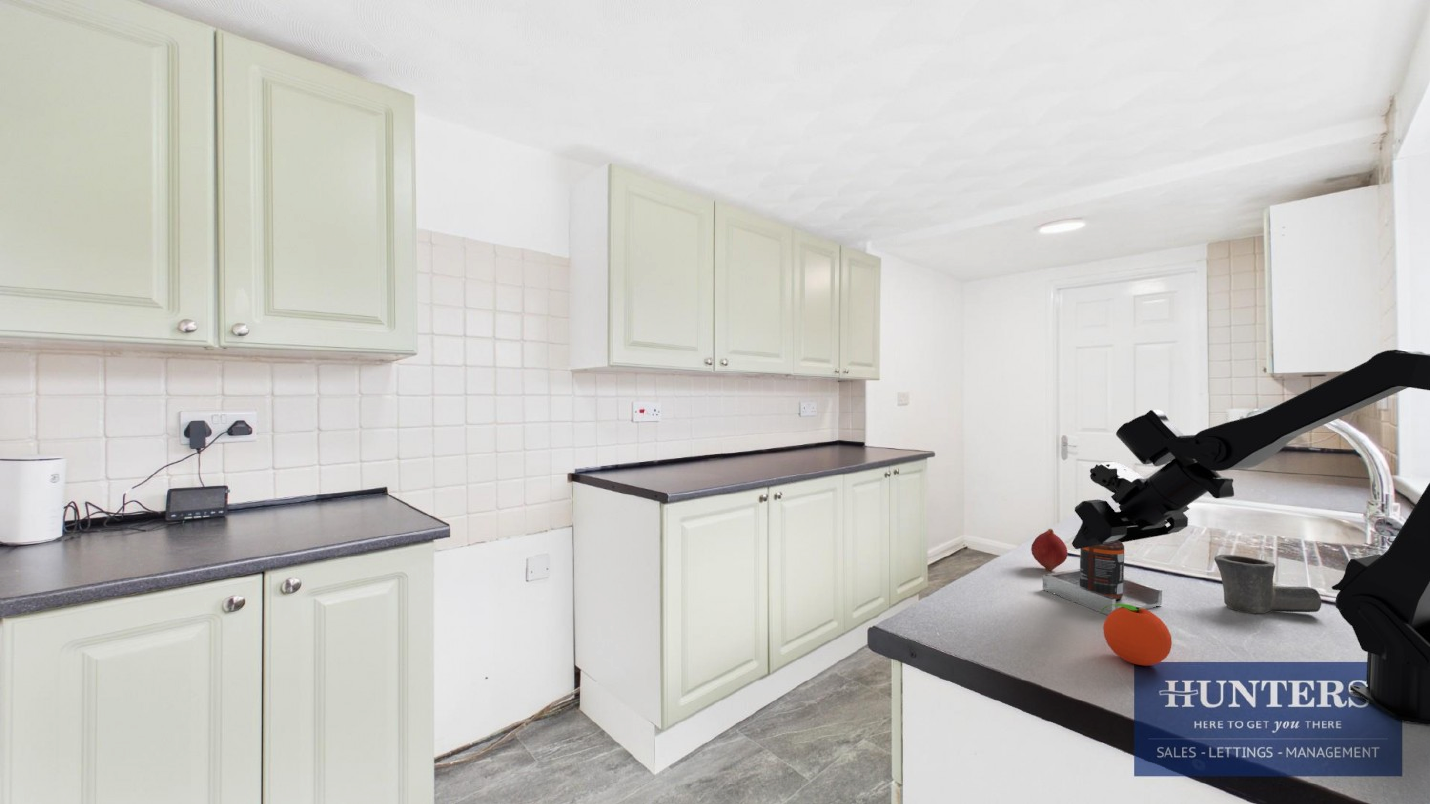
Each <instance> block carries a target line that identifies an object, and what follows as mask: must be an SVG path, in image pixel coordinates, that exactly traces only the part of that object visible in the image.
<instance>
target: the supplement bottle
mask: <svg viewBox="0 0 1430 804" xmlns="http://www.w3.org/2000/svg"><path fill="white" fill-rule="evenodd" d="M1079 551H1080V554H1079V556H1080V557H1079V559H1080V560H1079V569H1080V586H1081V587H1084V588H1086V589H1089V590H1092V591H1095V592H1098V593H1100V594H1103V595H1106V596H1109V597H1112V598H1114V599H1116V600H1117V599H1120V598H1122V597H1123V588H1124V586H1123V583H1124V578H1125V576H1124V575H1125V574H1124V573H1125V545H1124V542H1121V541H1119V540H1116V542H1112V543H1107V544H1102V545H1096V546H1091V547H1086V548H1081V549H1079Z"/></svg>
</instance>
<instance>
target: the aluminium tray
mask: <svg viewBox="0 0 1430 804" xmlns="http://www.w3.org/2000/svg"><path fill="white" fill-rule="evenodd" d="M1123 586H1124V588H1123V597H1122V598H1120V599H1117V600H1116V599H1114V598H1112V597H1109V596H1106V595H1103V594H1100V593H1098V592H1095V591H1092V590H1089V589H1086V588H1084V587H1081V586H1080V568H1078V569H1077V568H1076V569H1071V570H1065V571H1060V572H1059V571H1058V572H1051V573H1046V574H1043V575H1042V591H1044V590H1045V592H1047V591H1048V592H1047V593H1049V594H1052V593H1055V594H1057V595H1060V596H1062V597H1064V598H1063V599H1065V598H1066V600H1067V601H1070V600H1071V601H1070V602H1073V603H1075V602H1076V604H1079V605H1080V606H1083V607H1086V608H1088V609H1092V610H1094V611H1096V612H1098V613H1101V614H1104V615H1107V616H1108V615H1109V614H1110V613H1111V612H1112V611H1113V610H1115V609H1118V608H1121V606H1116V605H1113V604H1127V605H1132V606H1135V607H1139V608H1143V609H1146V610H1149V609H1154V608H1153V607H1155V608H1157V607H1156V606H1160V605H1162V603H1163V590H1162V589H1160V588H1157V587H1154V586H1151V585H1147V584H1145V583H1142V582H1139V581H1135V580H1132V579H1128V578H1126V577H1124V583H1123ZM1055 594H1054V595H1055ZM1057 595H1056V596H1057ZM1060 596H1059V597H1060ZM1062 597H1061V598H1062ZM1108 605H1111V606H1108ZM1106 606H1108V607H1106ZM1162 606H1163V605H1162ZM1104 607H1106V608H1104ZM1160 607H1161V606H1160ZM1103 608H1104V610H1103V611H1102V609H1103ZM1101 611H1102V612H1101Z"/></svg>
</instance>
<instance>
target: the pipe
mask: <svg viewBox="0 0 1430 804" xmlns="http://www.w3.org/2000/svg"><path fill="white" fill-rule="evenodd" d="M1213 559H1214V560H1213V561H1214V562H1215V564H1216V565H1217V567H1218V570H1219V573H1220V577H1221V582H1222V588H1223V601H1224V602H1223V603H1224V604H1225V605H1226V607H1228V608H1230V609H1232V610H1235V611H1238V612H1243V613H1248V614H1249V613H1251V614H1265V613H1267V612H1280V613H1281V612H1282V613H1283V612H1286V613H1318V612H1319V611H1320V609H1321V608H1322V600H1323V599H1322V598H1321V595H1320V593H1319V592H1318V591H1317V589H1316V588H1313V587H1310V586H1276V585H1275V586H1274V573H1275V571H1276V570H1275V569H1276V564H1275V563H1274V562H1271V561H1268V560H1263V559H1258V558H1254V557H1249V556H1243V555H1234V554H1218V555H1215V556H1214V558H1213Z"/></svg>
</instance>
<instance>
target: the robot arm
mask: <svg viewBox="0 0 1430 804" xmlns="http://www.w3.org/2000/svg"><path fill="white" fill-rule="evenodd" d="M1408 388H1412V389H1418V390H1423V391H1430V353H1424V352H1423V351H1417V350H1410V349H1409V350H1407V349H1389V350H1384V351H1380V352H1379V353H1376V354H1375V355H1373V356H1372V357H1370V358H1369V359H1368V360H1367V361H1365V362H1363V363H1361V364H1359V365H1357V366H1355V367H1353V368H1351V369H1349V370H1347V371H1344V372H1342V373H1341V374H1339V375H1337V376H1334V377H1333V378H1330V379H1329V380H1327V381H1324V382H1322V383H1321V384H1317V385H1316V386H1314V387H1312V388H1310V389H1307V390H1306V391H1304V392H1302V393H1300V394H1298V395H1296V396H1293V397H1292V398H1290V399H1288V400H1285V401H1284V402H1282V403H1280V404H1277V405H1276V406H1274V407H1271V408H1269V409H1268V410H1266V411H1263V412H1260V413H1257V414H1254V415H1251V416H1247V417H1244V418H1239V419H1235V420H1231V421H1228V422H1224V423H1221V424H1217V425H1215V426H1212V427H1208V428H1206V429H1203V430H1200V431H1199V432H1197V433H1196V434H1186V435H1185V434H1183V433H1182V431H1181V430H1179V429H1178V427H1176V426H1175V425H1174V424H1173V423H1172V422H1171V421H1170V420H1169V419H1168V417H1167V415H1166V414H1165V413H1164V412H1163V411H1162V410H1161V409H1150V410H1149V411H1147V412H1146V413H1145V414H1143V415H1140V416H1138V417H1135V418H1133V419H1132V420H1130V421H1128V422H1125V423H1123V424H1122V425H1121V426H1120V427H1119V428H1118V429H1117V431H1116V433H1115V435H1116V437H1117V438H1118V439H1119V440H1120V441H1121V442H1122V443H1123V444H1124V446H1125V447H1126V448H1127V449H1128V450H1129V451H1130V452H1131V453H1132V454H1133V456H1135V458H1136V459H1138V460H1139V462H1140V463H1141V464H1142V465H1145V466H1146V465H1150V464H1151V465H1153V466H1155V467H1160V466H1163V465H1164V466H1163V467H1161V468H1160V469H1159V470H1157V471H1155V472H1154V473H1153V474H1152V475H1150V476H1149V477H1147V478H1145V477H1143V476H1142V475H1141V474H1139V473H1137V472H1136V471H1134V470H1133V469H1131V468H1129V467H1127V465H1126V466H1125V465H1124V464H1122V463H1120V462H1117V461H1106V462H1103V461H1102V462H1099V463H1098V464H1096V465H1095V466H1094V467H1092V468H1090V469H1089V473H1090V474H1089V478H1090V479H1091V481H1092V482H1093V483H1095V484H1096V485H1099V486H1101V487H1102V488H1104V489H1106V490H1108V491H1109V492H1111V493H1113V494H1112V495H1110V498H1111V499H1112V500H1113V502H1114V503H1115V504H1118V508H1119V511H1116V510H1114V509H1113V506H1111V505H1110V504H1109V502H1108V501H1107V500H1103V499H1102V500H1101V499H1090V500H1082V501H1081V502H1080V503H1079V504H1077V505H1076V506H1075V507H1074V512H1075V513H1076V514H1077V516H1078V517H1079V518H1080V520H1081V522H1082V523H1081V525H1080V527H1079V529H1078V532H1077V533H1076V535H1075V536H1074V539H1073V540H1072V542H1071V546H1072V547H1073V548H1074V549H1076V550H1080V549H1081V548H1086V547H1091V546H1096V545H1102V544H1107V543H1112V542H1116V540H1119V541H1121V542H1122V543H1127V542H1131V541H1132V542H1134V541H1138V540H1145V539H1150V538H1154V537H1155V538H1156V537H1161V536H1166V535H1167V536H1169V535H1170V534H1171V535H1172V534H1174V533H1179V532H1180V531H1182V530H1184V529H1186V528H1187V527H1189V525H1188V523H1189V522H1188V521H1189V517H1187V515H1186V514H1185V513H1186V512H1188V510H1190V507H1188V506H1189V505H1191V504H1192V503H1193V502H1195V501H1197V500H1198V499H1199V498H1201V497H1202V496H1204V495H1206V494H1207V493H1209V494H1210V495H1211V496H1212V498H1214V499H1226V498H1232V497H1234V496H1235V491H1234V485H1233V483H1234V478H1232V477H1225V476H1222V475H1220V474H1219V473H1218V472H1222V471H1223V472H1225V471H1234V470H1235V471H1236V470H1246V469H1251V468H1255V467H1257V466H1259V465H1260V464H1262V463H1263V462H1264V461H1266V460H1268V459H1269V458H1271V457H1272V456H1275V455H1276V454H1277V453H1278V452H1280V451H1281V450H1282V449H1283V448H1284V447H1285V446H1286V445H1287V444H1288V443H1290V442H1291V441H1292V440H1294V439H1295V438H1297V437H1299V436H1301V435H1303V434H1306V433H1308V432H1311V431H1313V430H1315V429H1317V428H1320V427H1322V426H1324V425H1326V424H1329V423H1331V422H1333V421H1335V420H1337V419H1340V418H1343V417H1345V416H1348V415H1349V414H1352V413H1353V412H1354V413H1355V412H1356V411H1358V410H1361V409H1363V408H1365V407H1368V406H1369V405H1372V404H1375V403H1376V402H1379V401H1381V400H1384V399H1386V398H1388V397H1390V396H1392V395H1395V394H1397V393H1399V392H1402V391H1404V390H1407V389H1408ZM1168 524H1169V525H1168ZM1167 525H1168V526H1167ZM1331 589H1332V590H1334V591H1338V593H1337V594H1336V597H1335V600H1334V601H1335V602H1334V603H1335V608H1336V609H1337V610H1338V611H1339V613H1340V615H1341V617H1342V619H1344V620H1345V622H1347V623H1348V625H1350V626H1351V627H1352V629H1353V632H1354V635H1355V637H1356V639H1357V641H1358V643H1359V646H1360V648H1361V650H1362V651H1363V652H1366V657H1367V658H1366V660H1367V661H1366V677H1365V678H1366V683H1365V684H1366V685H1367V686H1362V685H1354V684H1350V685H1349V690H1350V691H1351V692H1354V694H1356V695H1357V696H1359V697H1360V698H1362V699H1364V700H1366V701H1367V702H1368V703H1370V704H1372V705H1374V706H1375V707H1377V708H1378V709H1380V711H1381V710H1382V711H1383V712H1384V713H1386V714H1388V715H1389V716H1390V717H1392V718H1394V719H1395V720H1398V721H1401V722H1406V723H1413V724H1420V725H1427V726H1428V725H1429V726H1430V482H1428V485H1427V486H1426V488H1425V490H1424V491H1423V493H1422V494H1421V496H1420V498H1419V500H1418V501H1417V502H1416V504H1415V505H1414V506H1413V509H1412V510H1411V512H1410V514H1409V515H1408V517H1407V518H1406V520H1405V521H1404V523H1403V525H1402V526H1401V528H1400V530H1399V531H1398V533H1397V535H1396V536H1395V537H1394V539H1393V541H1392V543H1391V544H1390V546H1389V548H1388V549H1387V550H1386V551H1385V552H1384V553H1383V554H1379V553H1375V554H1374V553H1373V554H1369V555H1364V556H1360V557H1353V558H1351V559H1349V560H1348V563H1347V565H1346V567H1345V570H1344V574H1343V577H1342V579H1340V581H1339V582H1338V583H1336V584H1334V585H1332V586H1331Z"/></svg>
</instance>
